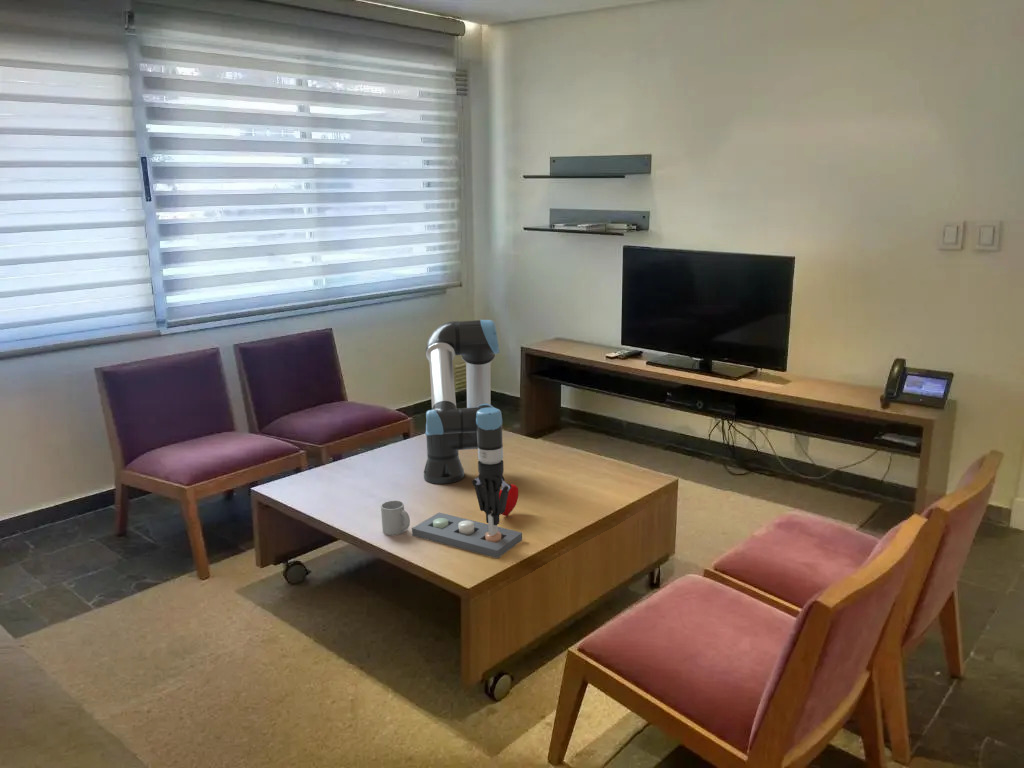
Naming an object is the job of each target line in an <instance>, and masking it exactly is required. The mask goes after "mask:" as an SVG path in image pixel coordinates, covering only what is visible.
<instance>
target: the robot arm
mask: <svg viewBox="0 0 1024 768" xmlns="http://www.w3.org/2000/svg"><path fill="white" fill-rule="evenodd" d="M497 333H498V332H497V326H496V323H495V322H494V320H492V319H479V320H458V321H457V320H451V321H447V322H444V323H442V324H440V325H439V326H438V327H436V328H435V329H434V330H433V331H432V333H430V336H429V338H428V339H427V342H426V345H425V357H426V360H427V361H428V363H429V378H430V379H429V380H430V395H431V397H430V398H431V409H428V410H426V412H425V418H426V422H425V437H426V452H427V453H426V455H427V456H426V462H425V466H424V470H423V479H424V481H426V482H428V483H431V484H438V485H440V484H442V485H445V484H447V485H448V484H452V483H456V482H459V481H461V480H462V479H463V478H464V477H465V469H464V467H463V465H462V462H461V459H460V457H459V455H460V454H459V451H464V450H477V460H478V462H477V467H478V468H477V470H478V476H477V477H476V478H474V479H472V480H471V483H472V485H473V486H474V489H475V494H476V495H475V496H476V499H477V502H478V506H479V510H480V511H481V512H484V513H485V521H486V524H488V527H489V535H491V536H494V535H495V534H496V533H498V527H499V524H500V515H502V513H504V512H505V508H506V503H507V498H508V493H509V490H510V489H511V487H512V486H511V485H510V484H511V483H510V484H509V483H507V482H506V481H505V478H504V460H503V459H504V445H503V444H504V443H503V416H502V411H501V410H500V409H499V408H497V407H494V406H493V405H492V404H491V394H492V393H491V390H492V389H491V381H492V380H491V379H492V378H491V377H492V376H491V373H492V372H491V363H492V362H493V361H494V360H495V357H496V355H497V354H499V353H500V345H499V339H498V334H497ZM455 356H460V357H461V359H462V361H464V362H465V370H466V371H465V373H466V375H465V376H466V379H465V380H466V407H463V408H462V407H461V408H457V401H456V389H455V387H456V385H455V377H454V366H453V360H454V358H455ZM500 490H502V492H501V495H500V499H499V492H500Z"/></svg>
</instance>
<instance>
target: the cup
mask: <svg viewBox="0 0 1024 768" xmlns="http://www.w3.org/2000/svg"><path fill="white" fill-rule="evenodd" d="M380 512H381V526H382V527H381V528H382V532H383V534H385V535H387V536H398V535H402V534H403V533H404V532H405V531H407V530H408V529H409V527H410V525H411V520H410V515H409V514H408V512H407V511H406V510H405V503H404V502H403V501H401V500H388V501H384V502H383V503H382V504H381V505H380Z"/></svg>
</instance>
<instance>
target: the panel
mask: <svg viewBox="0 0 1024 768" xmlns="http://www.w3.org/2000/svg"><path fill="white" fill-rule="evenodd" d="M438 518H445V519H447V520H448V526H447V527H446V528H444V529H439V528H435V527H433V521H434V520H435V519H438ZM467 520H468V521H472V522H474V533H473V534H471V535H470V536H466V535H462V534H459V526H458V524H459V522H461V521H467ZM487 532H489V527H488V523H485V522H480V521H476V520H472V519H467V518H463V517H460V516H455V515H452V514H448V513H447V514H446V513H443V512H437V513H436V514H434V515H432V516H430V517H429V518H427V519H424V521H421V522H420V523H418V524H417V525H415V526H413V527H411V535H412V537H416V538H419V539H420V538H421V539H423V540H427V541H431V542H435V543H439V544H442V545H446V546H450V547H454V548H457V549H461V550H464V551H469V552H473V553H476V554H480V555H484V556H488V557H490V556H491V557H490V558H493V559H494V558H495V559H499V558H500V557H502V556H503V555H504V554H506V553H507V552H508V551H510V550H511V549H513V548H514V547H515V546H517V545H518V544H519V543H521V542H522V541H523V532H521V531H517V530H513V529H510V528H509V529H508V528H504V527H501V526H498V532H500V533H501V540H500V541H499V542H497V543H494V542H490V541H486V537H485V534H486V533H487Z"/></svg>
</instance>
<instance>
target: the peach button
mask: <svg viewBox="0 0 1024 768" xmlns="http://www.w3.org/2000/svg"><path fill="white" fill-rule="evenodd" d="M485 537H486V541H490V542H494V543H497V542H499V541H500V540H501V533H500V532H498V533H496V534H495V535H494V536H491V535H489V532H487V533H486V534H485Z"/></svg>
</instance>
